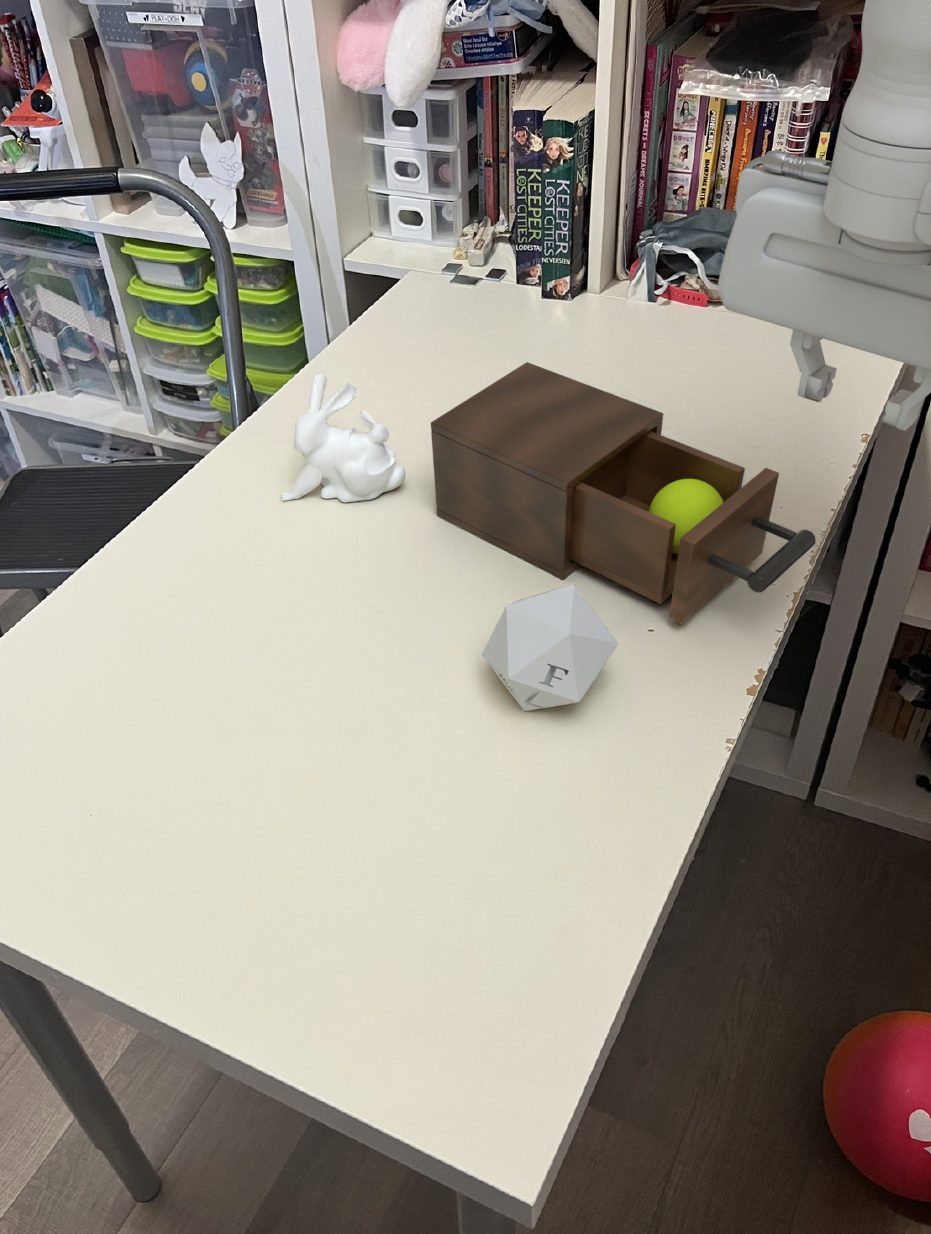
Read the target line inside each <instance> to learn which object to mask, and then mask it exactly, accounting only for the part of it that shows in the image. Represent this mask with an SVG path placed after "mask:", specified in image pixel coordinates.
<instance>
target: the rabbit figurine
mask: <svg viewBox="0 0 931 1234" xmlns="http://www.w3.org/2000/svg"><path fill="white" fill-rule="evenodd" d="M327 382H328V378H327V376H326V374H325V373H318V374H316V375H315V376H314V377H313V380H312V383H311V389H310V397H309V406H308V410H307V411H306V412H304V413H302V414H301V415H300V416H299V417H298V418H297V419H296V420H295V425H294V437H293V447H294V450H295V451H296V452H298V453H301V455H302V457H303V458H302V459H303V460H304V462H305V463H304V466H303V468H302V470H301V472H300V474H299V476H298V478H297V479H296V481H295V483H294V484H293V486H292V488H291V491H288V492H286V491H285V492H281V493H280V494H279V498H280V499H279V501H282V502H286V501H291V500H299V499H301V498H302V497H303V496H306V495H307V494H309V493H310V492H313V491H314V490H315V489H316V488H318V487H319V485H320V484H321V485H322V486H323V487H322V488H321V490H320V498H322V499H337V500H339V501H340V502H342V503H350V502H359V501H360V502H361V501H369V500H373V499H376V498H378V497H379V496H380V495H381V494H383V493H386V492H389V491H393V490H394V489H396V488H398V487H400V486H401V485H402V484H403V483H404V481H405V478H406V469H405V467H404V466H402V465H399V464H398V463H397V461H396V453H395V452H394V451H393V448H392V447H390V446H389V445H388V444H386V442H388V440H389V438H390V432H389V429H388V428H387V426H385V424H383V423H379V422H376V420H374V418H373V417H372V415H371V413H369V412H368V411H367V410H366V409H363V410H361V412H360V414H361V415H359V417H358V420H359V422H360V424H362V425H363V426H366V427H368V428H369V430H368V432H365V431H361V430H357V429H356V428H355V427H351V428H342V427H339V426H335V425H330V424H329V423H328V422H327V420H329V418H330V417H332V416H333V415H334V414H336V413H337V412H339V411H340V410H342V409H345V408H346V407H347V406H349V405H350V404H351V403H352V402H353V400H354V399H355V397H356V386H355V385H354V384H353V383H352V382H348V383H346V384H345V385H344V386H342V388H341V389H339V390H338V391H337V392H335V393H334V394H333V395H332V396H331V397H330V398H329V399H328V400H326V402H325V403H324V404H323V399H324V393H325V389H326V386H327ZM322 404H323V405H322Z"/></svg>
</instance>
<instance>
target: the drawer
mask: <svg viewBox="0 0 931 1234" xmlns="http://www.w3.org/2000/svg"><path fill="white" fill-rule="evenodd" d="M745 470H746V467H744V466H741V465H739V464H736V463H734V462H731V461H728V460H726V459H724V458H721V457H718V456H716V455H713V454H711V453H708V452H705V451H703V450H700V449H699V448H695V447H692V446H690V445H687V444H685V443H683V442H679V441H677V440H674V439H672V438H670V437H667V436H664V435H662V434H661V435H659V434H657V433H654V432H652V431H649V432H647V433H646V434H645V435H643V436H642V437H641V438H639V439H638V440H636V441H635V442H634V443H632V444H631V445H630V446H628V447H627V448H625V449H624V450H623V451H621V452H620V453H619V454H617V455H616V456H615V457H613V458H612V459H610V460H609V461H608V462H606V463H605V464H604V465H602V466H601V467H600V468H598V469H597V470H595V471H594V472H593V473H591V474H590V475H589V476H587V477H586V478H584V479H583V480H582V481H580V482H579V483H578V484H576V485H575V486H574V487H572V488H573V496H572V518H571V540H570V559H571V560H573V561H575V562H577V563H579V564H581V565H582V567H584V568H587V569H589V570H591V571H593V572H595V573H597V574H599V575H601V576H603V577H604V578H607V579H608V580H611V581H613V582H616V583H617V584H619V585H622V586H623V587H626V588H628V589H629V590H632V591H633V592H636V593H637V594H639V595H641V596H644V597H645V598H647V599H649V600H652V601H653V602H656V603H658V604H662V603H663V602H664V601H666V600H667V599H668V598H670V596H672V597H671V600H670V601H671V603H670V608H669V616H668V619H670V620H671V621H673V622H675V623H677V624H680V625H683V624H684V623H686V622H687V621H688V620H689V619H690V618H691V617H692V616H694V614H695V613H697V612H699V610H700V609H702V607H704V606H705V605H706V604H707V603H708V602H710V600H711V599H713V598H714V597H715V596H716V595H717V594H718V593H720V592H721V590H722V589H724V588H725V587H726V586H727V585H728V584H729V583H731V581H733V580H734V579H735V578H736V577H737V578H739V579H742V580H743V581H745V582H747V583H746V584H747V586H748V588H749V589H750V590H751V591H752V592H754V593H757V594H760V593H761V594H762V593H763V592H765V591H766V590H767V589H768V588H769V587H771V585H772V584H774V583H775V582H776V581H777V580H778V579H779V578H780V577H781V576H782V575H784V573H786V572H787V571H788V570H789V569H790V568H791V567H792V566H793V565H794V564H795V563H797V562H798V561H799V559H801V558H802V557H803V556H804V555H805V554H807V552H808V551H810V549H812V548H813V547H814V546H815V544H816V542H817V537H816V535H815V534H814V533H813V532H812V531H811V530H809V529H801V530H799V531H798V532H796V531H794V530H792V529H790V528H787V527H784V526H782V525H780V524H777V523H775V522H772V521H770V519H771V513H772V509H773V504H774V500H775V496H776V495H775V494H776V491H777V486H778V481H779V476H780V472H779V471H777V470H773V469H771V468H768V467H765V468H763V469H762V470H761V471H760V472H758V474H756V475H755V476H754V477H753V478H752V479H750V480H749V481H748V482H747V483H745V484H744V485H743V481H744V476H745V472H746V471H745ZM681 479H697V480H700V481H703V482H706V483H707V484H709V485H711V486H712V487H713V488H714V489H715V490H716V491H717V492H718V493H719V494H720V496H721V498H722V500H723V502H724V503H722V504H721V505H720V506H719V507H718V508H716V509H715V510H714V511H713V512H712V513H710V514H709V515H708V516H707V517H706V518H704V519H703V520H702V521H701V522H699V523H698V524H697V525H696V526H695V527H693V528H692V529H691V530H690V531H689V532H687V533H686V534H685V535H684V536H683V537H681V538H680V545H679V552H678V554H674V553H672V551H673V543H674V536H675V529H676V524H675V523H673V522H670V521H668V520H666V519H664V518H661V517H659V516H657V515H654V514H652V513H650V512H649V508H650V505H651V503H652V501H653V499H654V497H655V496H656V495H657V493H658V492H659V491H660V490H661V489H663V488H664V487H665V486H666V485H668V484H670V483H672V482H674V481H677V480H681ZM767 533H769V534H772V535H774V536H776V537H778V538H781V539H783V540H786V541H787V542H785V544H784V545H782V546H781V547H780V548H779V549H778V550H777V551H776V552H775V553H774V554H772V556H770V557H769V558H768V559H767V560H766V561H765V562H763V563H762V564H761V565H760V566H759V567H758V568H757V569H756V570H754V571H753V570H750V569H748V568H747V567H749V565H751V564H752V563H753V562H754V561H755V560H756V559H758V557H760V556H761V555H762V554H763V550H764V546H765V542H766V538H767V537H766V536H767Z"/></svg>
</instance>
